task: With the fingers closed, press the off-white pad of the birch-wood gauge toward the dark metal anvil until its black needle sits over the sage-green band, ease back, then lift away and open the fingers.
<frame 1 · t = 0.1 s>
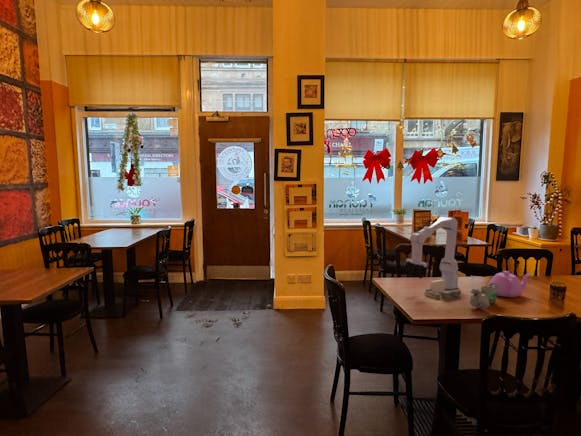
hand: (415, 276, 224), 10 cm above the table, tool pointing down, fingers open, 7 cm apart
grey lumpy figure: (479, 310, 197), on the table
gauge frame: (442, 295, 221), on the table
teapot: (508, 295, 224), on the table
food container: (490, 304, 207), on the table
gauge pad: (434, 286, 223), point 4 cm above the table, slide at 0.0 cm
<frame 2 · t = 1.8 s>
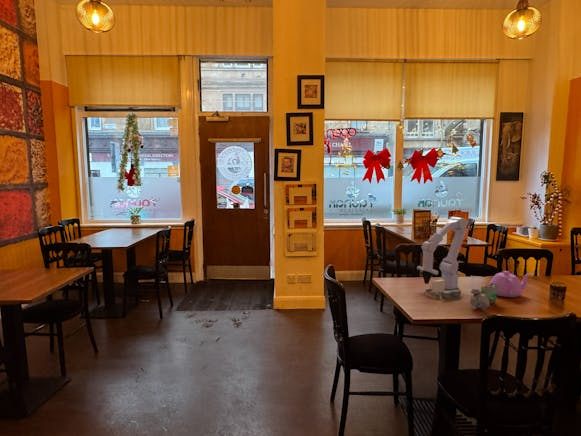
hand: (426, 283, 231), 4 cm above the table, tool pointing down, fingers closed
nothing on the table moved.
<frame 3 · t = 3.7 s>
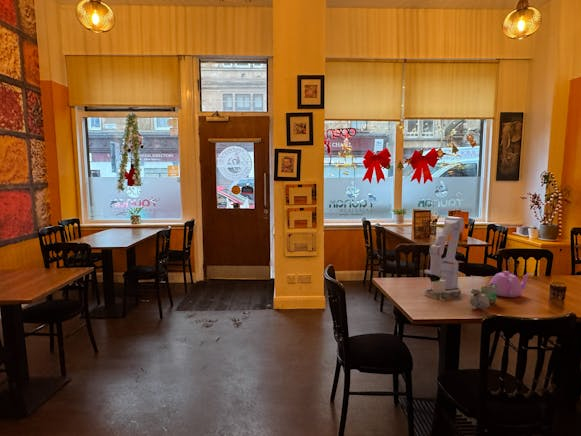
hand: (434, 287, 226), 3 cm above the table, tool pointing down, fingers closed
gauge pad: (435, 287, 223), point 4 cm above the table, slide at 0.7 cm, touching gripper
everything else where it was.
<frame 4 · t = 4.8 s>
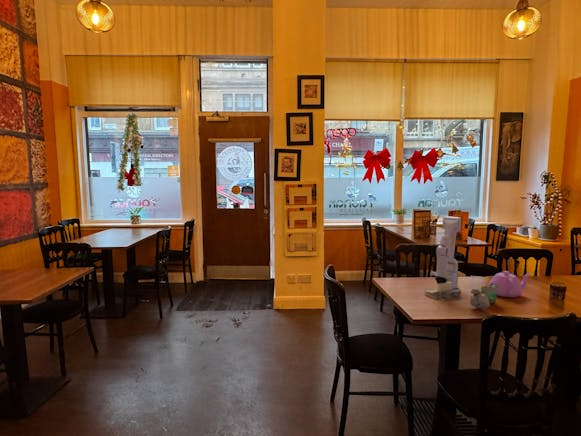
hand: (440, 289, 222), 3 cm above the table, tool pointing down, fingers closed
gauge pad: (442, 289, 219), point 4 cm above the table, slide at 5.4 cm, touching gripper
everything else where it was.
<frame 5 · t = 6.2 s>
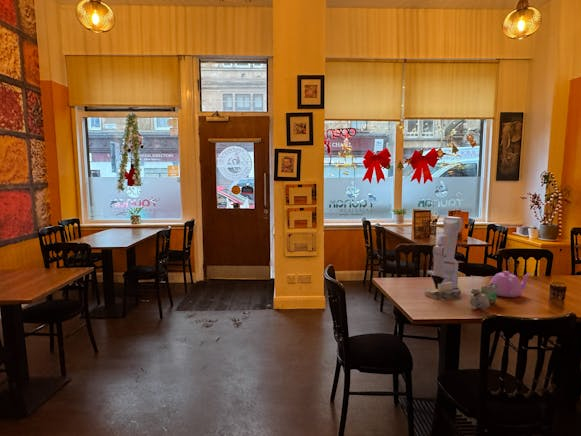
hand: (437, 288, 224), 3 cm above the table, tool pointing down, fingers closed
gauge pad: (442, 289, 218), point 4 cm above the table, slide at 5.5 cm
everything else where it was.
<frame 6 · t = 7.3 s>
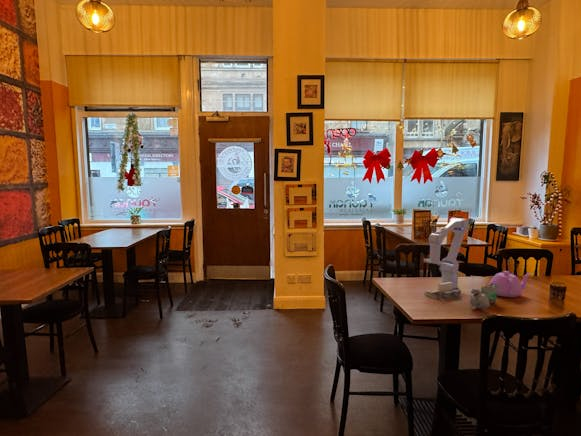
hand: (433, 276, 227), 9 cm above the table, tool pointing down, fingers closed
nothing on the table moved.
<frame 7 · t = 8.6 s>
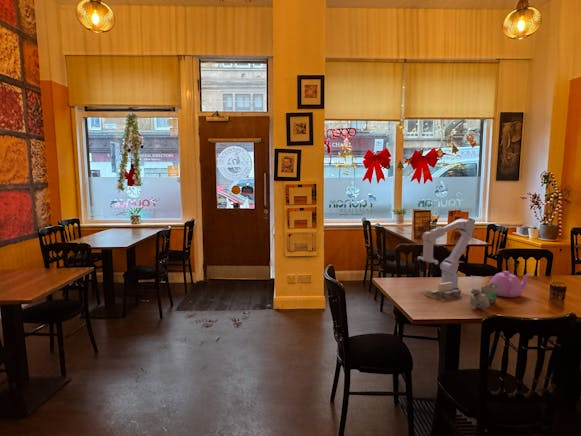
hand: (427, 273, 233), 9 cm above the table, tool pointing down, fingers open, 7 cm apart
nothing on the table moved.
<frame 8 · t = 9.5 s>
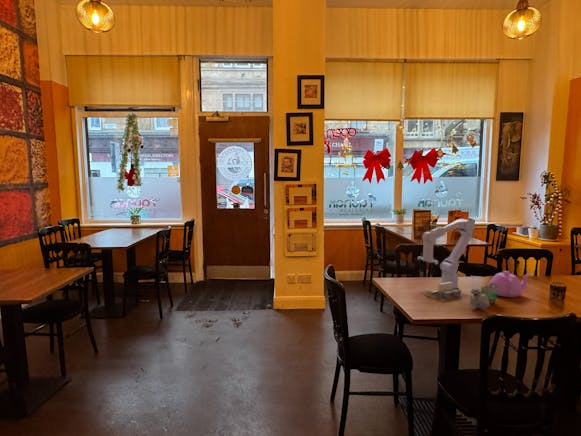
hand: (427, 273, 233), 9 cm above the table, tool pointing down, fingers open, 7 cm apart
nothing on the table moved.
at the end: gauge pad slide at 5.5 cm; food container moved 0.2 cm from its start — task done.
